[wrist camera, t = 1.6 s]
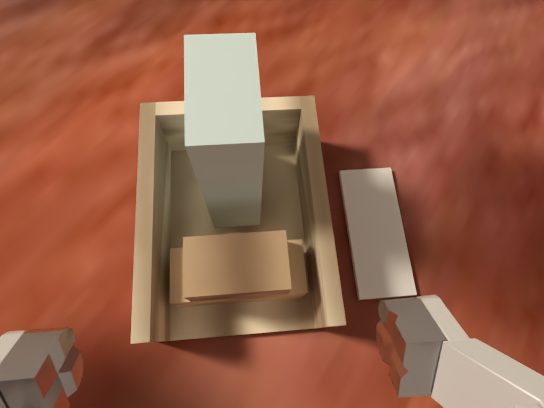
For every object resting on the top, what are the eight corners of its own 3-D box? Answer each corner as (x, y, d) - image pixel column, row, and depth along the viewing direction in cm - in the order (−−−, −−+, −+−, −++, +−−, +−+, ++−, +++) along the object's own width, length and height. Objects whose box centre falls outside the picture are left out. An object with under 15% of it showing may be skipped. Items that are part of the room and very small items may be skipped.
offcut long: (180, 307, 30) (169, 303, 27) (179, 258, 32) (169, 248, 28) (301, 297, 31) (308, 292, 27) (296, 250, 32) (302, 239, 29)
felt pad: (358, 300, 32) (359, 299, 32) (338, 173, 36) (339, 170, 36) (414, 295, 33) (416, 294, 32) (388, 170, 36) (390, 167, 36)
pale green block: (214, 228, 33) (184, 146, 19) (212, 156, 35) (184, 34, 21) (260, 225, 33) (264, 142, 19) (254, 154, 35) (255, 32, 21)
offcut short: (190, 301, 27) (183, 297, 24) (190, 246, 28) (183, 237, 25) (287, 293, 27) (291, 289, 24) (282, 240, 28) (285, 230, 26)
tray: (157, 342, 30) (130, 343, 24) (160, 145, 36) (140, 102, 30) (326, 327, 31) (346, 325, 25) (303, 138, 37) (314, 95, 31)
